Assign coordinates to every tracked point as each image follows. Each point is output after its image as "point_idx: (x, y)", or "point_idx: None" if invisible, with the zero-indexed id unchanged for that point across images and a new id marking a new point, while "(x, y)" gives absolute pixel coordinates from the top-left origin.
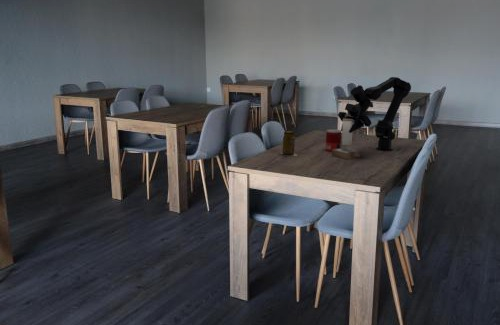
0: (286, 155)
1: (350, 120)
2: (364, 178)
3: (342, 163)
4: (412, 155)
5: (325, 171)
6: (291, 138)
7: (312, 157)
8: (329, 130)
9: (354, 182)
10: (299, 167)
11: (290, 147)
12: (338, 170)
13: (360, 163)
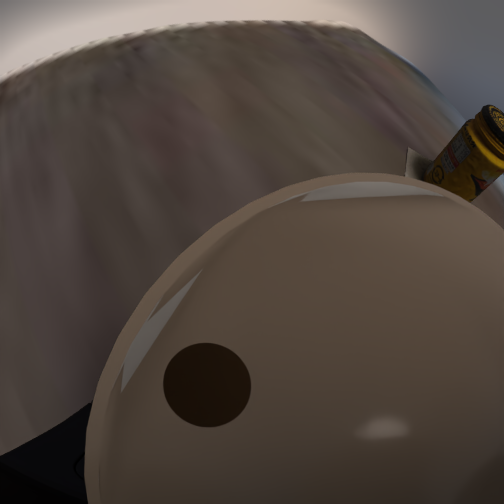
0: (423, 166)
1: (137, 329)
2: (5, 109)
3: (136, 207)
4: None
5: (138, 77)
6: (466, 127)
7: None
8: None
9: (28, 72)
10: (244, 65)
11: (441, 154)
12: (101, 109)
13: (55, 281)
